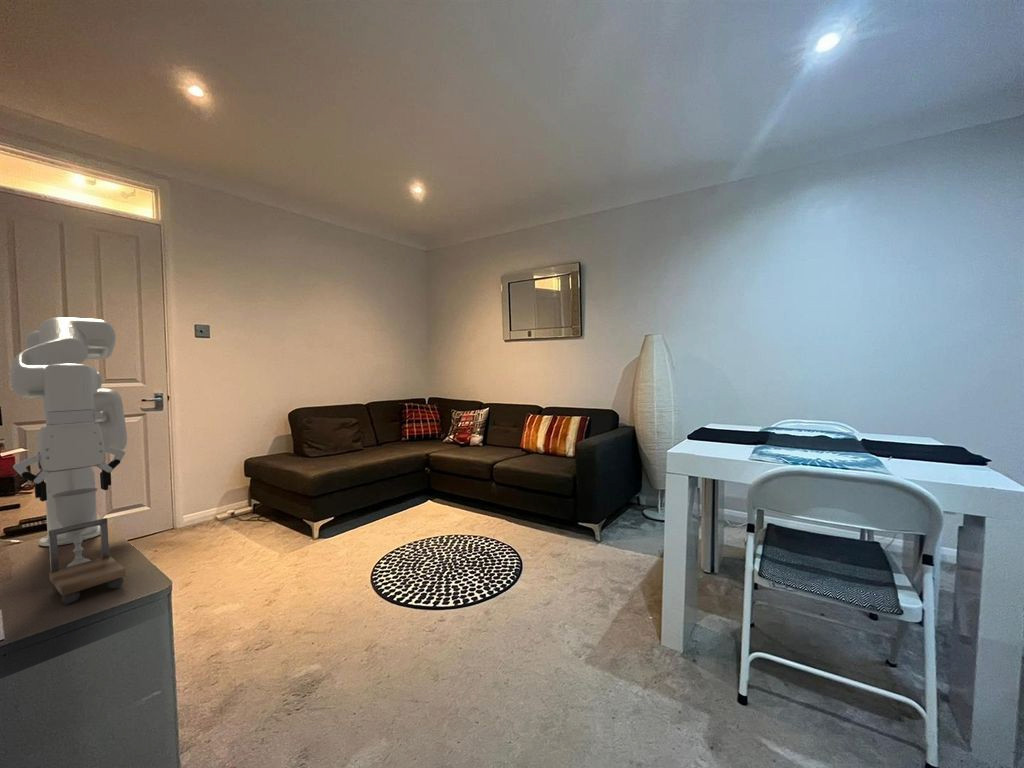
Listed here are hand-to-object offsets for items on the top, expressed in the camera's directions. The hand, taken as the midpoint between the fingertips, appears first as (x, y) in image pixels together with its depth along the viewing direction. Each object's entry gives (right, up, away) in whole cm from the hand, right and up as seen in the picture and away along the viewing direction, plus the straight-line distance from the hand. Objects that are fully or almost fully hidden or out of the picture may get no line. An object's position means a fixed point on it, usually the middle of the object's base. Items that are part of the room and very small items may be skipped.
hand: (75, 494), depth 93 cm
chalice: (0, -18, +1) cm, 18 cm away
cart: (+11, -17, -8) cm, 22 cm away
